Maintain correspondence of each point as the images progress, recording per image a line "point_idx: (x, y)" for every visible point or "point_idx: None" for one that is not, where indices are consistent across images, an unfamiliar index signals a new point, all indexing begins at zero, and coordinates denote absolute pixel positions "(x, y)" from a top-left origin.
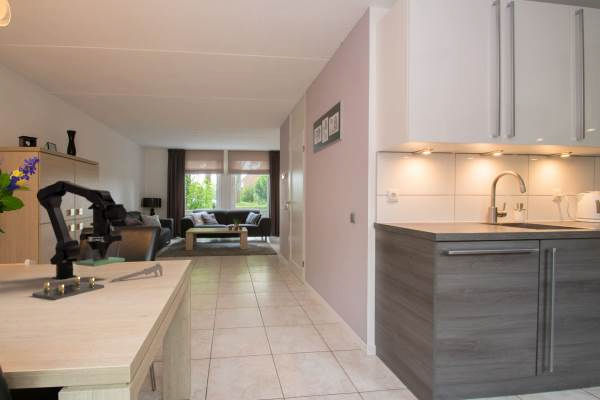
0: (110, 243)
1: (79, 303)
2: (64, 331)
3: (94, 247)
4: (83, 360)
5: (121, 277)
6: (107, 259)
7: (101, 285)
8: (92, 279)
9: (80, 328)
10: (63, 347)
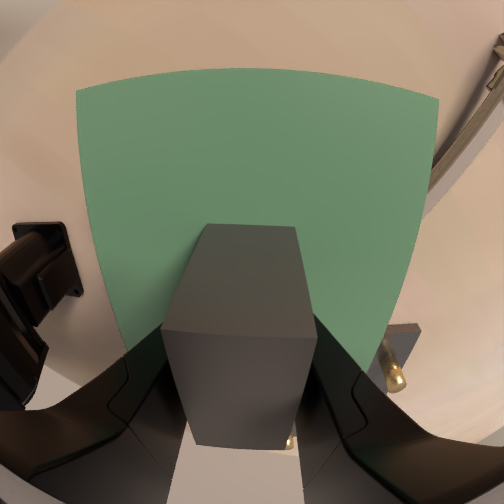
0: (453, 456)
1: (432, 408)
2: (465, 432)
3: (172, 454)
4: (496, 428)
5: (428, 207)
6: (300, 244)
7: (415, 339)
8: (403, 386)
9: (477, 423)
10: (477, 434)
